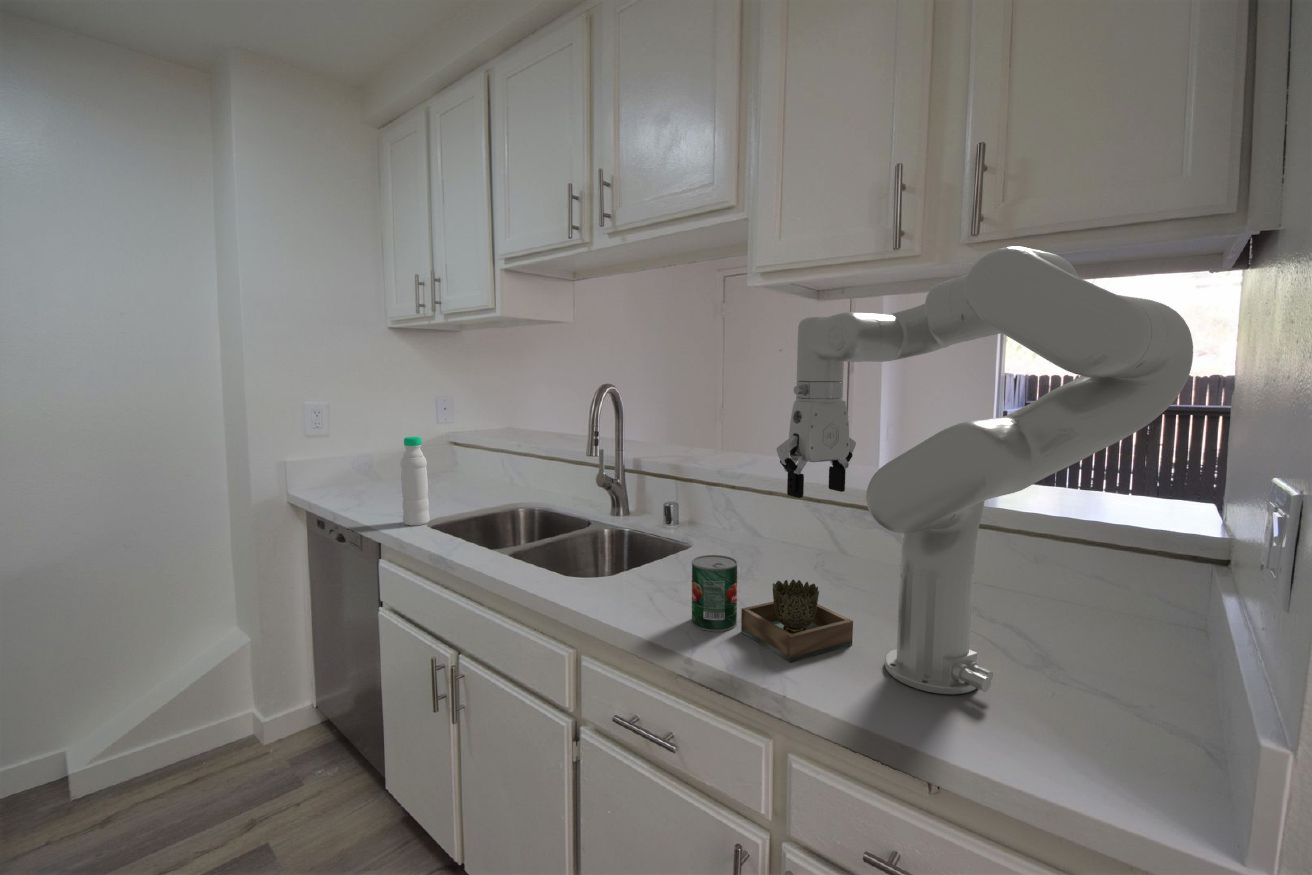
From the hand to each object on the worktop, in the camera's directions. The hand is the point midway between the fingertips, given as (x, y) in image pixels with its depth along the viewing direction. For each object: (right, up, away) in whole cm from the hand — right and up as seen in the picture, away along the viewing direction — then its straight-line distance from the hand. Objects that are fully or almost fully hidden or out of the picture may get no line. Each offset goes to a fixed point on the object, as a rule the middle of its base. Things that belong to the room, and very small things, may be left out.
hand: (816, 493), depth 105 cm
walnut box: (-4, -23, -4) cm, 24 cm away
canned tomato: (-17, -23, +3) cm, 29 cm away
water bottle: (-96, -16, +74) cm, 122 cm away
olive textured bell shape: (-5, -23, -4) cm, 24 cm away
